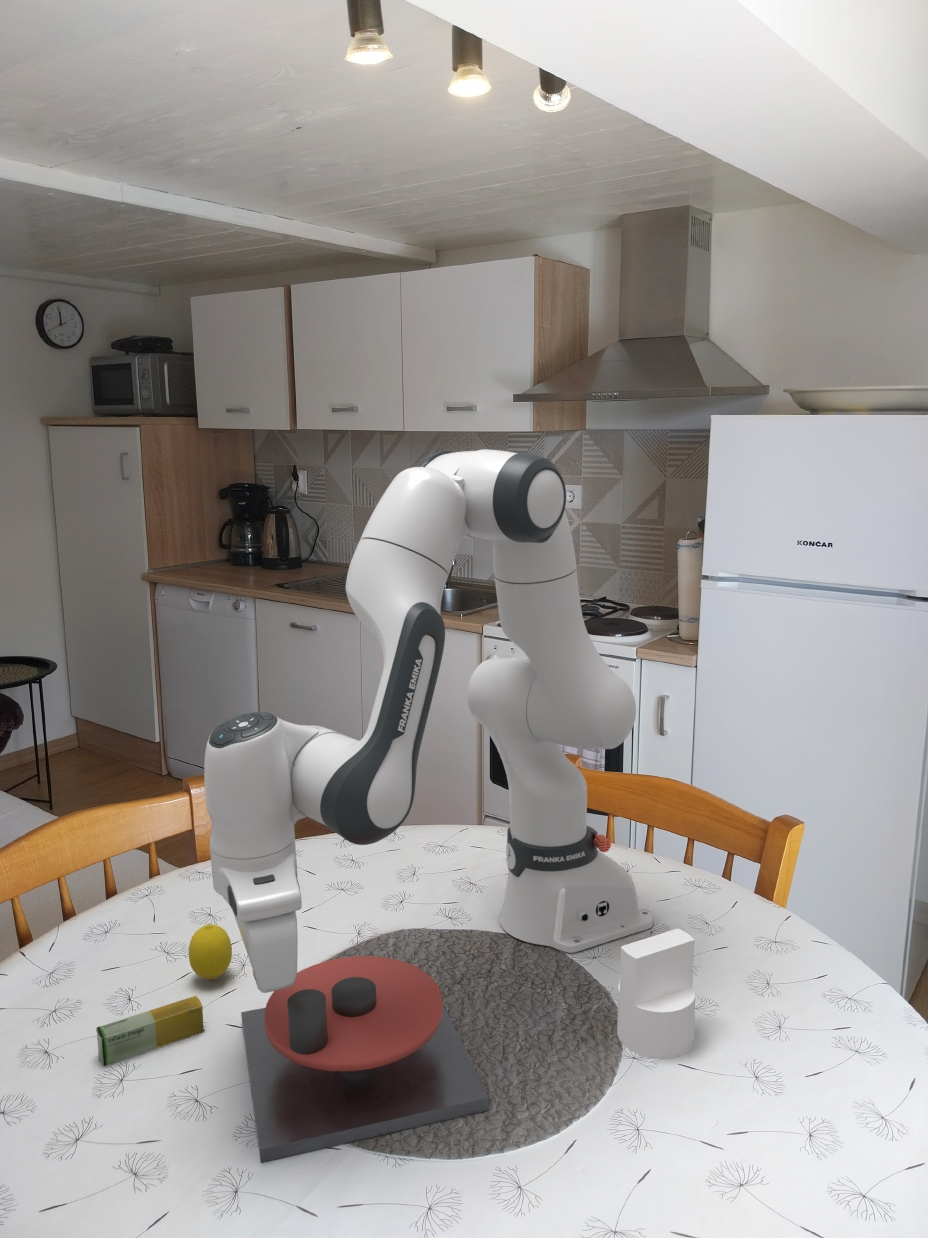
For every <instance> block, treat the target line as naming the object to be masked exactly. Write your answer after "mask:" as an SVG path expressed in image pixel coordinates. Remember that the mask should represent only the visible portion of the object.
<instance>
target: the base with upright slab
mask: <svg viewBox="0 0 928 1238" xmlns="http://www.w3.org/2000/svg"><path fill="white" fill-rule="evenodd" d="M694 954H695V939H694V938H693V936H691V935H690V934H689V933H688V932H686V931H684V930H682V929H680V928H675V929H672V930H668V931H665V932H662V933H660V934H656V935H653V936H650V937H649V936H648V937H646V938H642V939H641V940H636V941H633V942H630V943H628V944H624V945H622V946H620V960H619V961H620V968H619V969H620V970H619V971H620V972H619V977H620V978H619V982H618V984H617V985H618V987H617V989H618V990H617V1029H616V1030H617V1032H616V1033H617V1035H616V1036H618V1040H619V1041H620V1043H621V1044H622V1045H623V1046H624V1047H625V1048H627V1049H628V1050H629V1051H631V1052H632V1053H634V1054H637V1055H638V1056H642V1057H643V1058H648V1059H654V1060H656V1059H657V1060H665V1059H666V1060H667V1059H669V1060H670V1059H674V1058H679V1057H681V1056H683V1055H684V1054H686V1053H688V1052H689V1051H690V1050H691V1048H693V1045H694V1043H695V1019H696V1018H695V1017H696V1016H695V1015H696V990H695V988H694V986H693V984H694V960H695V959H694V957H695V955H694Z"/></svg>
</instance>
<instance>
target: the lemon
mask: <svg viewBox="0 0 928 1238" xmlns="http://www.w3.org/2000/svg"><path fill="white" fill-rule="evenodd" d="M232 957H233V948H232V942H231V939H230V937H229V935H228V932H227V931H226V929H224V928H222V927H221V926H220V925H217V924H211V923H207V924H206V925H204V926H201V927H199V929H197V930H196V931H195V932H194V934H193V935H192V936H191V939H190V942H189V947H188V959H189V960H188V961H189V965H190V967H191V969H192V971H193V972H194V974H195V975H197V976H199V977H200V978H202V979H207V980H210V981H214V980H215V979H216V978H218V977H220V976H221V975H223V974H224V973H225V972H226V971H227V970H228V968H229V967H230V964H231V961H232V959H233V958H232Z"/></svg>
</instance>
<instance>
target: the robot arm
mask: <svg viewBox="0 0 928 1238" xmlns="http://www.w3.org/2000/svg"><path fill="white" fill-rule="evenodd" d="M566 490H567V489H566V484H565V482H564V479H563V476H562V475H561V473H560V471H559V469H558V467H557V465H555V463H554V462H553V461H552V460H550V459H549V458H546V457H544V456H541V455H538V454H534V453H531V452H525V451H524V452H522V451H521V452H512V451H508V450H507V451H506V450H499V449H487V448H485V449H484V448H483V449H479V450H467V451H455V452H454V451H449V450H445V451H439V452H435V453H432V454H429V455H427V456H425V457H423V458H422V459H419V461H418V462H417V463H415V465H414V466H413V467H409V468H406V469H404V470H402V471H400V472H399V473H398V474H397V475H396V476H395V477H394V478H393V479H392V481H391V482H390V484H389V485H388V487H387V488H386V489H385V491H384V492H383V494H382V496H381V497H380V499H379V500H378V503H377V505H376V506H375V507H374V510H373V512H372V514H371V515H370V517H369V519H368V521H367V523H366V525H365V527H364V530H363V532H362V534H361V537H360V539H359V541H358V544H357V546H356V548H355V550H354V554H353V556H352V557H351V561H350V562H349V563H350V564H349V567H348V570H347V575H346V581H345V593H346V597H347V600H348V602H349V605H350V608H351V609H352V612H353V613H354V615H355V616H356V617H357V619H358V620H359V621H360V622H361V623H362V625H364V627H366V629H367V630H369V632H370V633H371V634H373V636H374V637H375V638H376V640H377V642H378V643H379V646H380V648H381V651H382V654H383V655H382V657H383V666H382V667H383V668H382V673H381V677H380V681H379V683H378V688H377V692H376V695H375V698H374V704H373V705H372V706H373V707H372V711H371V713H370V714H371V715H370V717H369V721H368V725H367V727H366V731H365V733H364V736H363V737H362V738H361V739H360V740H358V739H355V738H353V737H350V736H347V735H346V734H344V733H341V732H338V731H335V730H333V729H330V728H326V727H325V726H321V725H313V724H296V723H292V722H290V721H288V720H287V721H286V720H284V719H282V718H279V717H278V716H277V715H275V714H273V713H270V712H268V711H266V712H265V711H254V712H248V713H242V714H238V715H235V716H232V717H230V718H228V719H226V720H224V721H222V722H221V723H220V724H218V725H217V726H216V727H215V728H213V730H212V731H211V733H210V734H209V736H208V740H207V742H206V746H205V751H204V764H203V765H204V773H203V774H204V775H203V776H204V778H203V779H204V793H205V794H204V796H205V805H206V811H207V814H208V816H209V818H210V821H211V822H210V823H211V832H210V837H209V854H210V862H211V863H210V864H211V875H212V886H213V889H214V891H215V892H216V893H217V895H219V896H222V898H223V899H224V901H225V902H226V903H227V904H228V906H230V908H231V910H232V913H233V915H234V919H235V922H236V925H237V926H238V927H237V928H238V930H239V934H240V936H241V939H242V942H243V945H244V948H245V951H246V954H247V957H248V959H249V963H250V965H251V968H252V975H253V978H254V981H255V984H256V987H257V989H258V991H260V992H261V993H263V994H266V993H273V992H274V991H277V990H281V989H284V988H288V987H291V986H293V985H294V983H295V980H296V976H297V973H298V919H297V918H298V917H297V913H296V911H300V910H302V908H303V907H302V906H303V903H302V902H303V901H302V893H301V887H300V884H299V881H298V862H297V861H298V860H297V849H296V834H295V826H296V823H298V821H299V820H303V819H305V818H309V819H311V820H313V821H316V822H317V823H320V824H321V825H324V826H326V827H327V828H328V829H330V830H331V831H332V832H334V833H335V834H337V835H338V836H340V837H341V838H343V839H344V840H346V841H347V842H349V843H350V844H354V845H357V846H367V845H368V846H369V845H371V844H375V843H377V842H380V841H383V840H384V839H385V838H387V837H388V836H390V835H392V834H393V833H395V832H396V830H398V829H399V828H400V827H401V825H403V824H404V822H405V821H406V819H407V818H408V816H409V813H410V812H411V809H412V807H413V804H414V800H415V799H414V798H415V795H416V783H417V769H418V762H419V755H420V751H421V746H422V742H423V737H424V734H425V728H426V725H427V721H428V717H429V714H430V709H431V705H432V701H433V698H434V694H435V688H436V685H437V683H438V682H437V681H438V677H439V673H440V669H441V664H442V658H443V656H444V650H445V641H446V627H445V622H444V619H443V617H442V616H441V606H442V599H443V595H444V591H445V585H446V583H447V580H448V578H449V576H450V575H449V574H450V572H451V571H452V570H451V569H452V568H453V567H452V566H453V565H454V561H455V559H456V558H455V557H456V554H457V552H458V549H459V544H460V542H461V541H462V539H464V538H465V539H468V540H475V541H483V540H491V543H492V562H493V563H492V564H493V573H494V574H493V575H494V583H495V591H496V599H497V608H498V617H499V625H500V627H501V630H502V632H503V633H504V636H506V638H507V639H508V640H509V641H510V642H512V643H513V645H515V646H517V647H518V648H519V649H520V650H521V651H522V652H523V653H524V655H525V656H526V657H527V658H523V657H517V656H516V657H515V656H511V657H498V658H488V659H486V660H484V661H482V662H480V664H479V665H478V666H477V667H476V668H475V669H474V671H473V673H472V674H471V676H470V678H469V681H468V683H467V689H466V690H467V691H466V697H467V705H468V708H469V710H470V713H471V715H472V716H473V717H474V719H475V720H477V722H479V723H480V725H481V726H482V727H483V728H484V729H485V731H486V732H487V733H488V735H489V736H490V738H491V739H492V741H493V743H494V745H495V747H496V749H497V752H498V753H499V757H500V759H501V761H502V766H503V768H504V771H505V775H506V779H507V785H508V798H509V799H508V800H509V826H508V828H507V832H506V833H507V834H506V835H507V836H506V845H505V847H506V848H505V849H506V850H505V853H506V855H505V856H506V864H507V868H508V876H507V884H506V890H505V895H504V900H503V904H502V907H501V911H500V914H499V917H498V920H499V924H500V926H501V928H502V929H503V930H504V931H505V932H506V933H507V934H509V935H510V936H512V937H514V938H515V939H518V940H521V941H523V942H526V943H529V944H534V945H540V946H546V947H551V948H554V949H556V950H558V951H562V952H565V953H567V954H568V953H569V954H572V953H577V952H580V951H583V950H586V949H589V948H592V947H595V946H599V945H603V944H605V943H608V942H611V941H614V940H617V939H620V938H624V937H627V936H630V935H634V934H635V933H640V932H643V931H646V930H649V929H650V928H652V927H653V924H654V918H653V917H654V916H653V912H652V910H651V908H650V906H649V905H648V904H647V903H646V901H644V899H643V898H642V897H641V896H640V895H639V894H637V889H636V886H635V883H634V881H633V879H632V878H631V875H630V874H629V873H628V871H627V870H625V869H624V867H622V865H620V864H619V863H618V862H617V861H616V860H614V859H612V858H611V857H609V856H608V855H606V854H605V853H606V852H609V851H610V849H611V848H612V841H611V840H610V839H608V838H607V837H606V836H605V835H604V834H599V833H598V831H597V830H596V829H594V828H593V827H591V826H589V825H588V824H587V822H588V821H587V817H588V816H587V815H588V813H587V812H588V810H587V809H588V786H587V781H586V778H585V776H584V775H583V773H582V772H581V770H580V769H579V768H578V767H577V766H576V765H575V764H574V763H573V762H572V761H571V760H569V759H568V757H567V756H566V755H565V753H564V752H563V750H562V749H561V746H565V747H571V748H575V749H579V750H612V749H615V748H617V747H619V746H620V745H621V744H623V742H624V741H625V740H627V738H628V737H629V735H630V734H631V732H632V731H633V730H632V729H633V727H634V725H635V722H636V718H637V716H636V715H637V705H636V699H635V696H634V694H633V690H632V689H631V687H630V686H629V684H628V683H627V682H626V681H625V680H624V679H622V678H621V677H619V676H618V675H617V674H616V673H615V672H614V671H613V670H612V669H611V667H610V666H609V665H608V664H607V663H606V662H605V660H604V659H603V658H602V656H601V654H600V653H599V652H598V650H597V648H596V647H595V645H594V643H593V641H592V639H591V637H590V635H589V633H588V630H587V627H586V625H585V621H584V616H583V611H582V610H583V609H582V605H581V604H582V603H581V599H580V597H581V596H580V590H579V589H580V588H579V580H578V570H577V561H576V553H575V551H576V550H575V545H574V541H573V536H572V529H571V526H570V523H569V518H568V516H567V511H566V505H567V491H566ZM560 745H561V746H560Z"/></svg>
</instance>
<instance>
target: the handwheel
mask: <svg viewBox="0 0 928 1238" xmlns="http://www.w3.org/2000/svg"><path fill="white" fill-rule="evenodd" d="M442 1003H443V995H442V991H441V989H440V987H439V985H438V983H437V982H436V981H435V979H434V978H433V977H431V976H430V974H428V973H427V972H426V971H424V970H423V969H421V968H420V967H418V966H416V965H414V964H411V963H408V962H405V961H402V960H399V959H394V958H391V957H385V956H375V955H374V956H373V955H360V956H359V955H358V956H357V955H356V956H348V957H347V956H345V957H339V958H335V959H330V960H325V961H322V962H319V963H316V964H313V965H311V966H308V967H306V968H303V969H302V970H299V971H297V976H296V980H295V983H294V985H293V986H291V987H288V988H284V989H281V990H277V991H272V994H271V995H270V996H269V998H268V1000H267V1003H266V1004H265V1007H264V1008H265V1030H266V1035H267V1037H268V1039H269V1041H270V1043H271V1044H272V1046H273V1047H274V1048H275V1049H276V1050H277V1051H278V1052H279V1053H280V1054H282V1055H283V1056H285V1057H286V1058H287V1059H289V1060H291V1061H293V1062H295V1063H298V1064H301V1065H303V1066H306V1067H310V1068H315V1069H319V1070H327V1071H358V1070H365V1069H371V1068H376V1067H380V1066H383V1065H387V1064H390V1063H393V1062H395V1061H398V1060H400V1059H402V1058H404V1057H406V1056H408V1055H410V1054H412V1053H414V1052H415V1051H416V1050H418V1049H419V1048H421V1047H422V1046H423V1045H424V1044H425V1043H427V1042H428V1041H429V1040H430V1039H431V1037H432V1036H433V1035H434V1034H435V1032H436V1031H437V1029H438V1027H439V1025H440V1022H441V1020H442V1014H443V1005H444V1003H443V1004H442Z"/></svg>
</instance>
